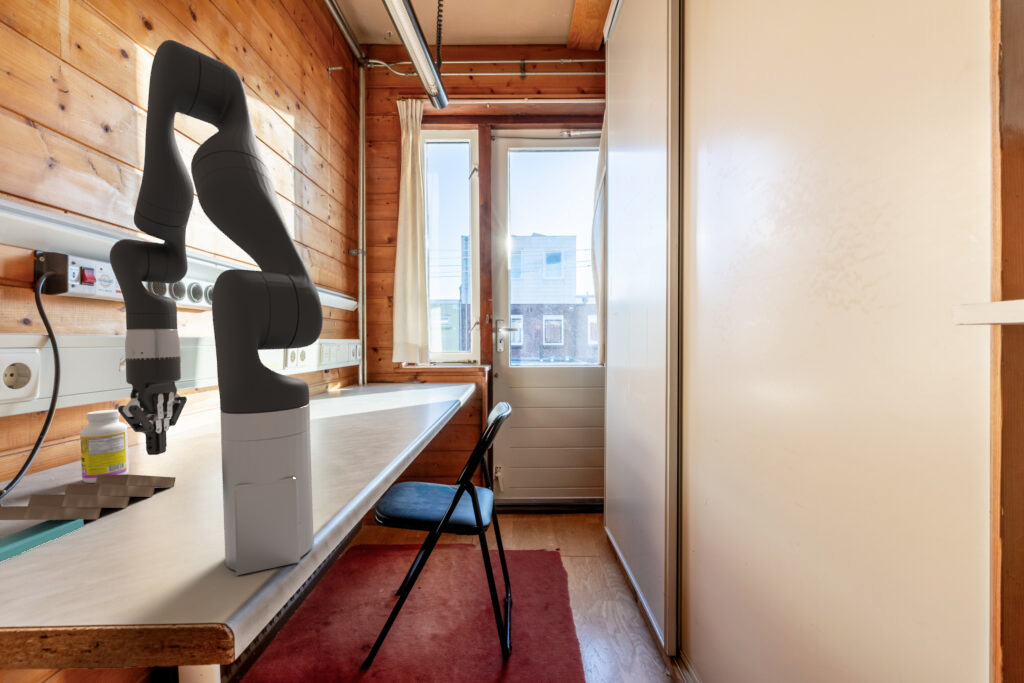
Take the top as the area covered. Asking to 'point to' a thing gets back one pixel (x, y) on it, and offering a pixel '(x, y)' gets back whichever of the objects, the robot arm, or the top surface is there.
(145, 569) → the top surface
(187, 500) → the top surface
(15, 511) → the domino
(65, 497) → the domino
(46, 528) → the domino
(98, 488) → the domino
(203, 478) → the top surface
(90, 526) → the top surface
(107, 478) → the domino
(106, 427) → the supplement bottle
